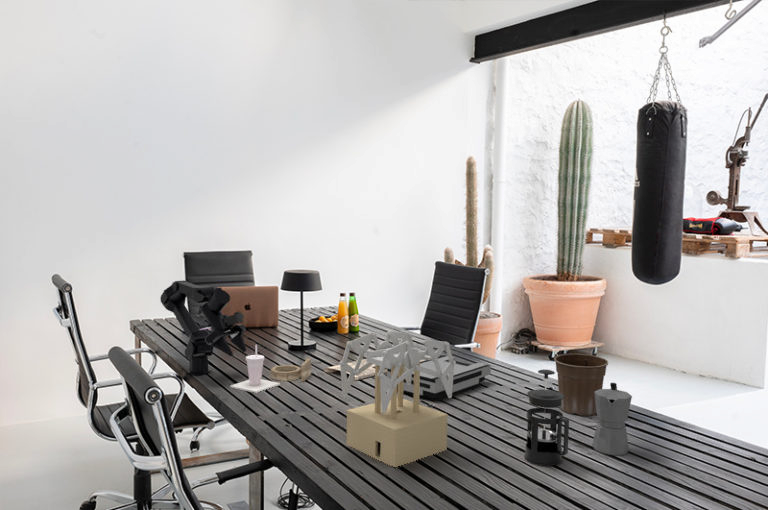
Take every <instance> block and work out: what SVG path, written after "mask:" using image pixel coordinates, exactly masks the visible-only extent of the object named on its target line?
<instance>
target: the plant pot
mask: <svg viewBox="0 0 768 510" xmlns="http://www.w3.org/2000/svg"><path fill="white" fill-rule="evenodd" d="M553 360H554V362H555V370H556V373H557V383H558V387H557V389H558V392H559V393H561V394H563V395H564V398H563V399H562V405H561V406H559V407H558V408H559V409H560V410H561V411H563V412H564V413H566V414H570V415H574V414H576V415H578V416H588V417H589V416H594V415H597V412H596V403H595V394H594V392H595V391H597V390H599V389H603V388H604V387H603V385H604V378H605V376H606V372H607V366H608V365H609V360H607V359H606V358H604V357H601V356H597V355H591V354H586V353H585V354H583V353H563V354H562V353H561V354H558V355H556V356H554V358H553Z"/></svg>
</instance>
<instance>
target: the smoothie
mask: <svg viewBox="0 0 768 510" xmlns="http://www.w3.org/2000/svg"><path fill="white" fill-rule="evenodd" d="M254 351H255V354H250V355H246V356H245V361H246V367H247V373H248V380H249V382H250V385H251V386H258V385H261V379H262V376H263V369H264V361H265V356H264V355H262V354H258V344H255V350H254Z"/></svg>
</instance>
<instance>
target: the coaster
mask: <svg viewBox="0 0 768 510" xmlns="http://www.w3.org/2000/svg"><path fill="white" fill-rule="evenodd" d="M275 386H276V387H278V386H281V383H280V382H278V381H277V382H276V381H272V380H267V379H263V378H261V385H258V386H251V385H250V382H249V379H246V380H244V381H240V382H238V383H234V384H231V385H230V386H229V387H230V388H232V389H236V390H241V391H243V392H244V391H245V392H249V393H253V392H254V393H253V394H258V392H259V393H261V392H264V391H266V389H267V390H269V388H270V389H272V387H273V388H275ZM263 390H264V391H263ZM260 391H261V392H260Z"/></svg>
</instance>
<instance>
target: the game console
mask: <svg viewBox="0 0 768 510" xmlns="http://www.w3.org/2000/svg"><path fill="white" fill-rule="evenodd" d="M452 358H453V360H454V361H456V357H454V356H452ZM438 362H439V365H440V368H441V371H442V372H443V371H444V370H445V368H446V367H447V366H448V364H449V359H448V355H440V356H439V357H438ZM420 366H421V367H424V368H427V369H430V370H433V371H436V372H437V370H436V367H435V364H434V362H433V361H432V360H425V359H424V361H422V362H420ZM406 368H407V367H406ZM407 369H408V368H407ZM491 369H492V365H490V364H486V363H481V362H476V363H473V364H470V363H466V362H461V361H458V360H457V361H456V364H455V365H454V376H453V388H452V397H454V396H456V395H459V394H462V393H465V392H467V391H470V390H473V389H476V388H479V387H481V383H482V382H484V381H485V377H486V376H489V375H491V372H492V371H491ZM386 376H387V377H388V378H389V379H391V369H388V368H387V373H386ZM397 378H398V374H397ZM446 378H447V381H448V378H449V373H448V374H447V376H446ZM409 383H410V382H409ZM397 392H398V384H397ZM403 393H404V394H405V393H406V394H408V393H412V394H414V372H413V373H412V377H411V384H410V385H408V384H407V382H406V380H405V379H404V383H403ZM419 396H422V398H424V399H427V400H431V401H434V402H439V401H442V400H445V399H449V398H448V396H447V393H446V391H445V388H444V386H443V383H442V381H441V378H439V377H435V376H432V375H429V374H426V373H423V372H420V388H419ZM449 397H450V395H449Z"/></svg>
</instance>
